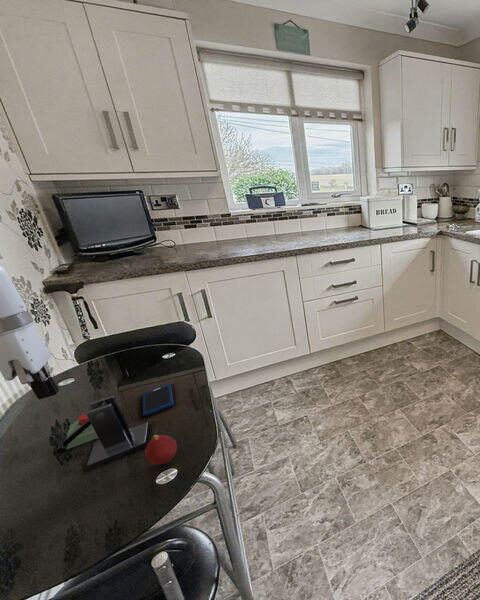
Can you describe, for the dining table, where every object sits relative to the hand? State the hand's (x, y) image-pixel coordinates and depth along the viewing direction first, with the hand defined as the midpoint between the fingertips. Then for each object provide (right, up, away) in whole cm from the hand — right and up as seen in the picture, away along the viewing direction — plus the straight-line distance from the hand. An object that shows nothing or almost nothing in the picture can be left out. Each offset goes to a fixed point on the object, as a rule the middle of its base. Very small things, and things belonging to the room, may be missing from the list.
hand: (49, 395), depth 75 cm
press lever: (+7, -8, +2) cm, 11 cm away
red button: (-2, -10, +11) cm, 15 cm away
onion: (+27, -16, 0) cm, 31 cm away
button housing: (-1, -13, +13) cm, 19 cm away
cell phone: (+8, -9, +23) cm, 26 cm away
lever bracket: (+11, -15, +6) cm, 19 cm away
